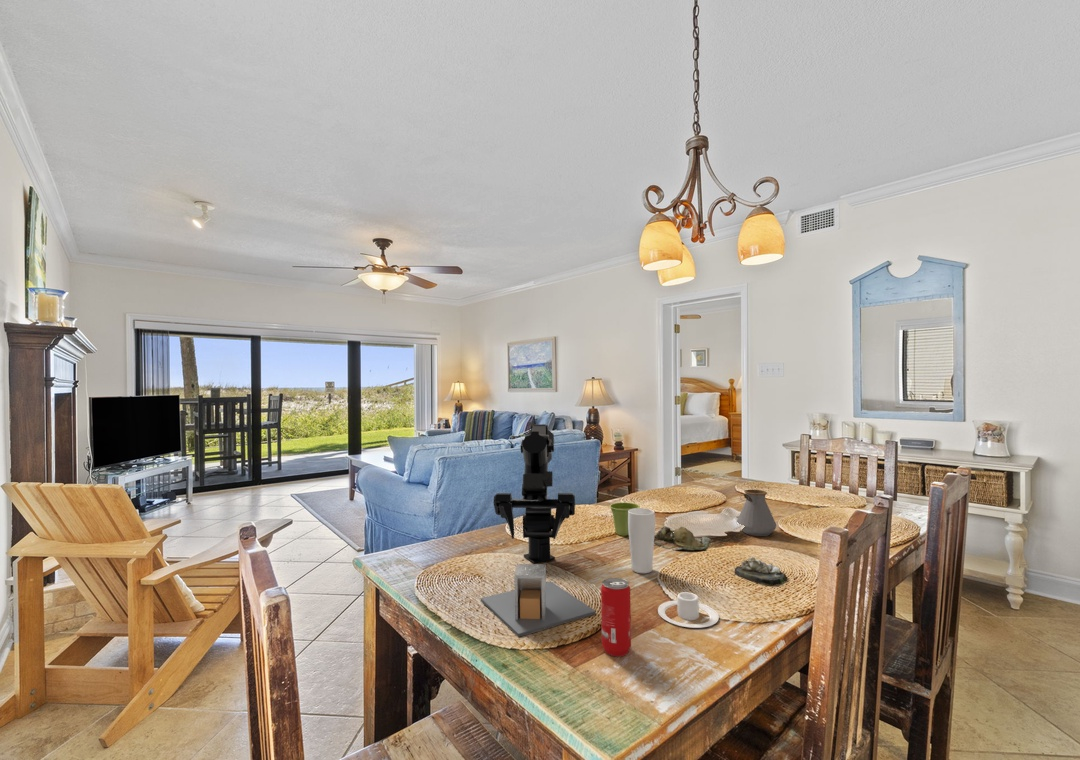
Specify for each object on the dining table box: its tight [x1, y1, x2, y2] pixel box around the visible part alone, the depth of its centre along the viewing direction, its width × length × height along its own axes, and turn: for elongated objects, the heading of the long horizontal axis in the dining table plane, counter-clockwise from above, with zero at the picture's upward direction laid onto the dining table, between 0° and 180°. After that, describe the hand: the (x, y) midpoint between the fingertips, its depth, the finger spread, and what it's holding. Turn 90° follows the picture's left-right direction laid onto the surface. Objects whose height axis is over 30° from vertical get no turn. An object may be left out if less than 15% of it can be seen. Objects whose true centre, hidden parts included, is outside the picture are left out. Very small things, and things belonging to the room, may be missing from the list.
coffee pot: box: [736, 489, 777, 537], centre depth 152 cm, size 21×12×15 cm, turn 145°
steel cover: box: [513, 563, 547, 621], centre depth 102 cm, size 6×6×9 cm
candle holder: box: [657, 591, 720, 629], centre depth 102 cm, size 12×12×4 cm
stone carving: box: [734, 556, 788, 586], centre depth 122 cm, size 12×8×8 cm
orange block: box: [520, 590, 541, 619], centre depth 102 cm, size 4×4×4 cm
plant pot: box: [609, 501, 641, 537], centre depth 157 cm, size 9×9×9 cm
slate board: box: [480, 580, 597, 638], centre depth 106 cm, size 18×18×1 cm
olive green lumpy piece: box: [654, 525, 712, 551], centre depth 148 cm, size 18×18×5 cm
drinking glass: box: [628, 507, 656, 574], centre depth 126 cm, size 7×7×15 cm
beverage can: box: [600, 577, 632, 658], centre depth 89 cm, size 5×5×12 cm
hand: (533, 538), depth 110 cm, fingers open, 9 cm apart
